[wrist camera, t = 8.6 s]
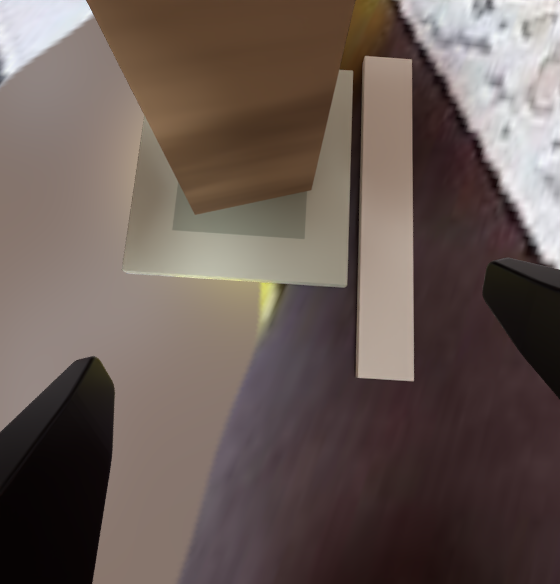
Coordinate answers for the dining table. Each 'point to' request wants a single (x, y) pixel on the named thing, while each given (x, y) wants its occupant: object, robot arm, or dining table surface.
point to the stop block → (232, 88)
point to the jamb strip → (385, 223)
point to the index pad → (247, 219)
